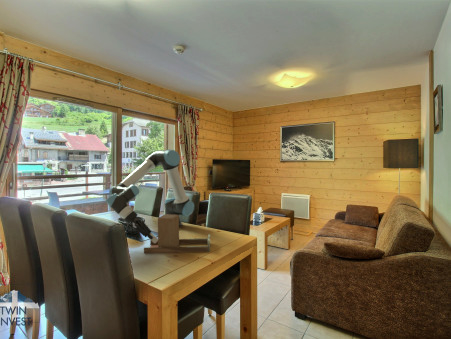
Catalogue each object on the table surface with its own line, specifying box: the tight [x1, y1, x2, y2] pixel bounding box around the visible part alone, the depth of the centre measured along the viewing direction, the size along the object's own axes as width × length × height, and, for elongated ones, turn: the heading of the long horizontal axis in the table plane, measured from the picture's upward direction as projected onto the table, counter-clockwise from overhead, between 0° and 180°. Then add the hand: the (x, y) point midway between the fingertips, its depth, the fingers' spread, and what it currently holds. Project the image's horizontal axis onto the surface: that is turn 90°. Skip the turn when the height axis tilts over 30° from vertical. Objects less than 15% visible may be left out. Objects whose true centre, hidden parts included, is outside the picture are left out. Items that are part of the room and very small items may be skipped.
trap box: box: [143, 233, 211, 254], centre depth 149 cm, size 15×38×6 cm, turn 92°
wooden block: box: [157, 213, 180, 247], centre depth 149 cm, size 10×10×20 cm
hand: (156, 241), depth 148 cm, fingers closed
